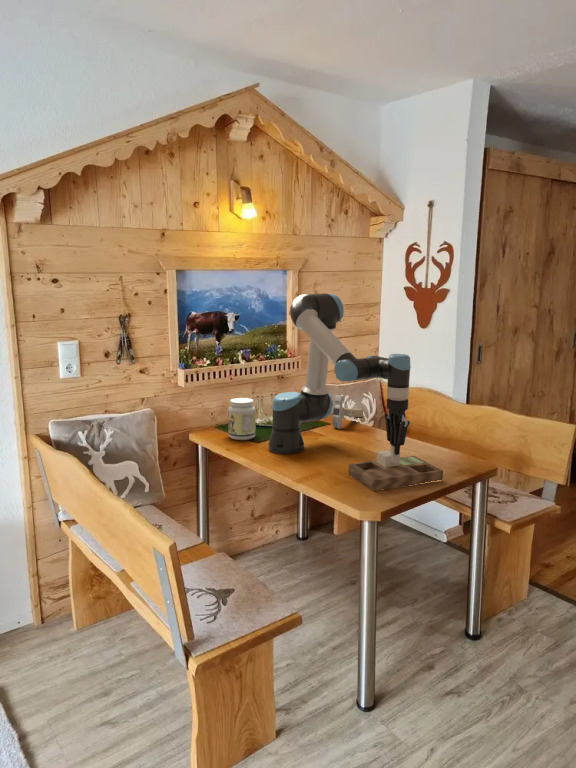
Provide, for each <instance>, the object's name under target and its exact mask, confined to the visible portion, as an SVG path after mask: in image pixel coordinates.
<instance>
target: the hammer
mask: <svg viewBox="0 0 576 768" xmlns="http://www.w3.org/2000/svg"><path fill="white" fill-rule="evenodd" d="M333 401H334V403H335V405H334V406H333V408H332V416H331V417H332V418H331V422H332V423H331V424H332V426H333V428H334V429H339V430H343V424H342V423H343V422H342V418H343V417H344V416H345V417H349V418H357V419H359V418H362V417H363V415H364V409H362V408H360V407H359V408H349V407H347V408H345V407H343V404H344V402H345V395H337V394H335V396H334V400H333Z"/></svg>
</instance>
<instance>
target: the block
mask: <svg viewBox="0 0 576 768" xmlns="http://www.w3.org/2000/svg"><path fill="white" fill-rule="evenodd" d="M390 450H391V449H390ZM390 450H389V449H388V450H381V451H380V450H379V451H376V461H377V463H379V464H381V465H382V466H384V467H391V466H398V465H400V458H401V455H400V454H401V453H400V454H399V463H391V462H390V456H391V451H390Z"/></svg>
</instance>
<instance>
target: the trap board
mask: <svg viewBox="0 0 576 768" xmlns="http://www.w3.org/2000/svg"><path fill="white" fill-rule="evenodd" d="M348 475H349V477H351V476H352V477H351V478H353V479H354V480H356V481H357V482H359V483H360V484H362V485H363V486H364V487H366V488H367V487H368V489H369V488H370V489H371V491H372V490H373V491H374V492H377V491H376V490H381V491H383V490H382V489H388V488H394V489H397V488H396V487H401V488H404V487H403V486H408V487H410V486H409V485H415V484H420V483H425V482H431V481H437V480H442V479H443V477H444V470H443V469H441V468H439V467H437V466H435V465H433V464H431V463H429V462H427V461H425V460H423V459H421V458H419V457H417V456H415V455H409V456H402V457H401V456H400V465H398V466H391V467H384V466H382V465H381V464H379V463H377V460H370V461H362V462H356V463H355V462H354V463H348ZM415 486H416V485H415ZM370 489H369V490H370ZM388 490H389V489H388ZM373 491H372V492H373Z"/></svg>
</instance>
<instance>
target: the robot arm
mask: <svg viewBox="0 0 576 768" xmlns="http://www.w3.org/2000/svg"><path fill="white" fill-rule="evenodd" d="M344 311H345V310H344V305H343V302H342V301H341V298H340V297H339V296H338V295H336V294H334V293H329V292H328V293H303V294H300V295H298V296H297V297H295V298H294V300H293V301H292V302H291V304H290V307H289V316H290V319H291V321H292V323H293V324H294V326H295V327H296V329H298V330H299V331H303V332H304V333H305V334H306V335H307V337H308V338H309V345H308V355H307V366H306V375H305V385H304V386H302V387H301V389H300V393H299V392H297V391H289V392H288V391H287V392H281V393H278V394H276V395H275V396H273V399H272V406H271V407H272V431H271V435H270V437H269V440H268V444H267V445H268V447H267V449H268V451H269V452H272V453H274V454H279V455H292V454H293V455H294V454H299V453H302V452H303V451H305V442H304V438H303V435H302V433H301V424H303V423H308V422H315V421H320V420H323V419H326V418H328V417H329V416H330V415H331V413H332V412H333V408H334V406H333V405H334V400H332V399H333V398H332V395H331V394H330V393H329V389H328V388H327V377H328V367H329V361H330V362H331V364H332V365H333V366H334V375H335V377H336V380H338V381H340V382H348V383H349V382H354V381H361V380H368V379H383V380H387V386H386V387H387V388H386V397H387V399H386V407H385V408H386V409H387V410H388V412H387V413H385V414H384V419H385V429H386V440H387V441H388V442H389V444H390V451H391V456H390V462H391V463H399V454H401V446H404V445H405V443H406V442H405V441H406V437H407V432H408V428H409V426H410V421H409V420H407V419H406V411H408V409H409V399H408V398H409V394H410V393H409V391H410V379H411V378H410V376H411V357H410V355H408V354H405V353H392V354H389V355H388V357H383V356H380V355H368V356H366V357H364V358H363V357H361V358H357V357H355V355H354V354H353V353H352V352H351V351H350V349H348V347H346V345H344V343H343V342H342V341H341V340H340V339H339V338H338V337H337V335H336V334H334V333H333V331H334V330H336V328H337V323H339V322H340V321H341V320H342V319H343V317H344V313H345V312H344Z"/></svg>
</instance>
